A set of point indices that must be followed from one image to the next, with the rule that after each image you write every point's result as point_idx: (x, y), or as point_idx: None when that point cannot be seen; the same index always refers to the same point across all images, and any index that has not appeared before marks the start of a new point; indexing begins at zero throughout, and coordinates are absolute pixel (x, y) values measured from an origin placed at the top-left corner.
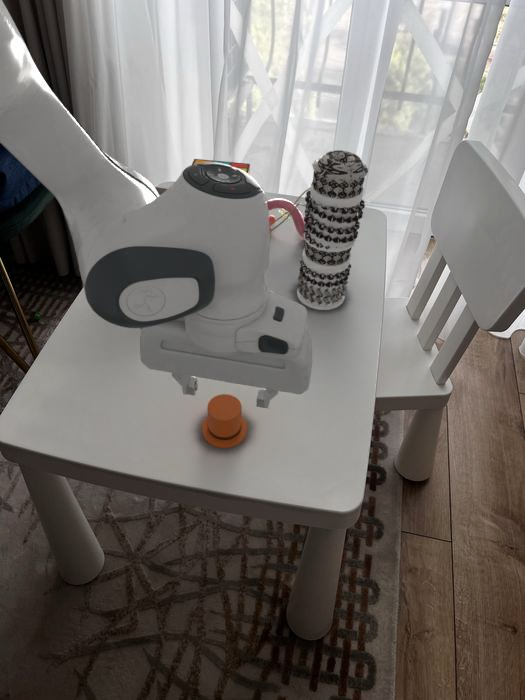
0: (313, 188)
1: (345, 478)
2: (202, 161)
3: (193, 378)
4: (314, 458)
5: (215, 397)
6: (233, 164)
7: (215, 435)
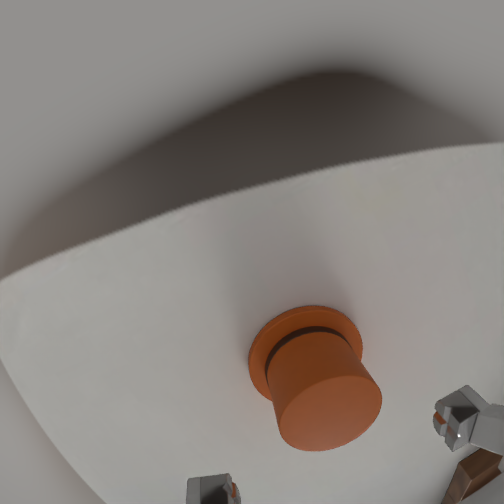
0: None
1: (15, 353)
2: None
3: (461, 443)
4: (80, 376)
5: (368, 424)
6: None
7: (319, 331)
